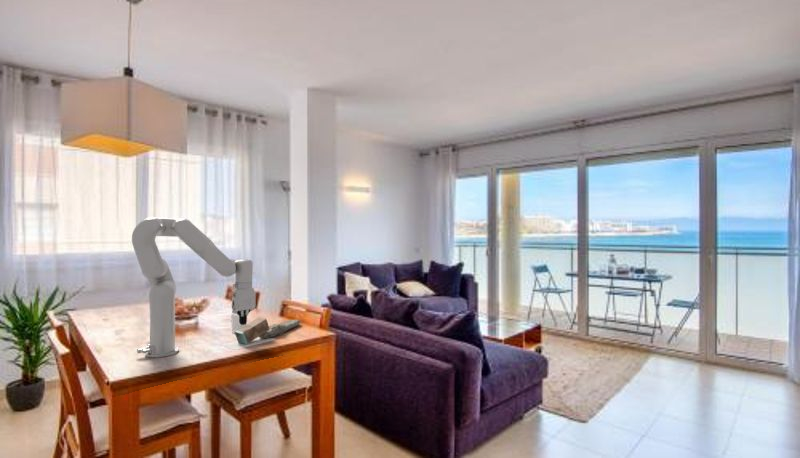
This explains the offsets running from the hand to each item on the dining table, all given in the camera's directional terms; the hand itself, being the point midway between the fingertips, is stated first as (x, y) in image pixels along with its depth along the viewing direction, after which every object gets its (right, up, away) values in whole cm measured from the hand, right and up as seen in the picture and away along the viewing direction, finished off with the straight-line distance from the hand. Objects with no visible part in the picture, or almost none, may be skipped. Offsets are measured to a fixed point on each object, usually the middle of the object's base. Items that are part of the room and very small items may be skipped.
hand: (242, 324), depth 194 cm
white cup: (-10, -10, +21) cm, 25 cm away
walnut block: (-1, -6, -1) cm, 7 cm away
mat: (+2, -10, +3) cm, 10 cm away
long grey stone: (+11, -9, +23) cm, 27 cm away
